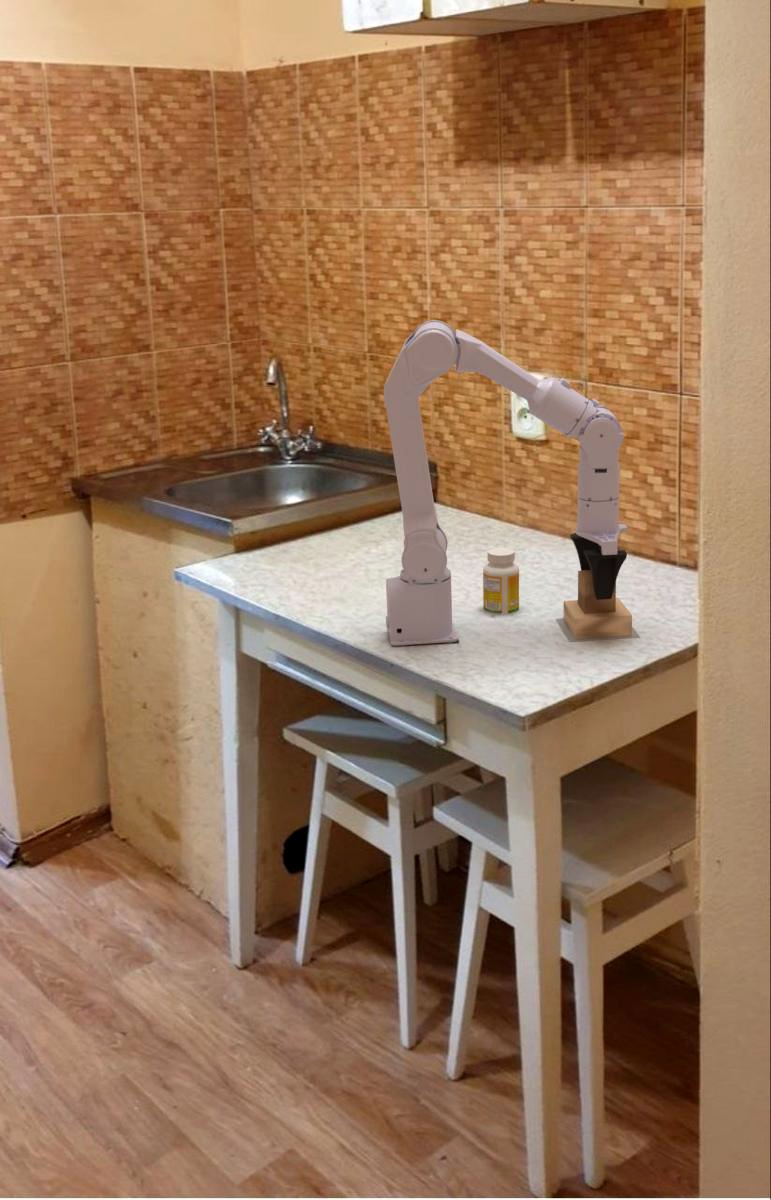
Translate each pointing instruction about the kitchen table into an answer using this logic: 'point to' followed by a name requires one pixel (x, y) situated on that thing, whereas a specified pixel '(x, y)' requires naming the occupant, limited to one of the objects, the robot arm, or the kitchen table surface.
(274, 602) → the kitchen table surface
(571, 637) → the baseplate
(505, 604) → the supplement bottle
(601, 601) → the walnut block
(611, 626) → the oak brick
